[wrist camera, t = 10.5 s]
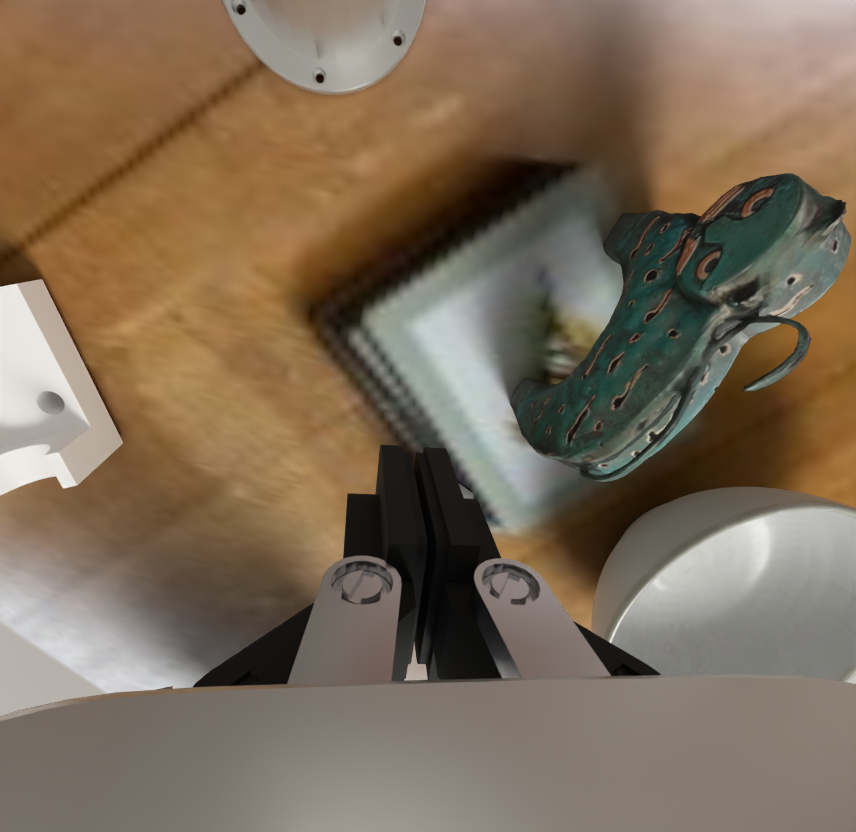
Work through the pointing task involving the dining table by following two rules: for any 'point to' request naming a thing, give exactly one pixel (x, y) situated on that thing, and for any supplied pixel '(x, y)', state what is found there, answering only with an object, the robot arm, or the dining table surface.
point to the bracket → (46, 396)
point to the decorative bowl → (735, 586)
